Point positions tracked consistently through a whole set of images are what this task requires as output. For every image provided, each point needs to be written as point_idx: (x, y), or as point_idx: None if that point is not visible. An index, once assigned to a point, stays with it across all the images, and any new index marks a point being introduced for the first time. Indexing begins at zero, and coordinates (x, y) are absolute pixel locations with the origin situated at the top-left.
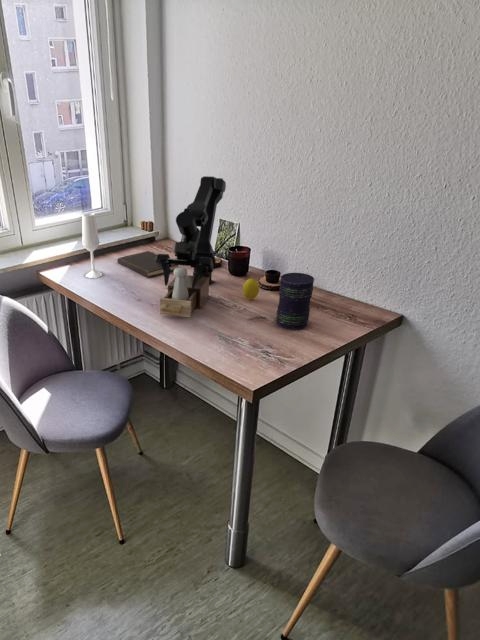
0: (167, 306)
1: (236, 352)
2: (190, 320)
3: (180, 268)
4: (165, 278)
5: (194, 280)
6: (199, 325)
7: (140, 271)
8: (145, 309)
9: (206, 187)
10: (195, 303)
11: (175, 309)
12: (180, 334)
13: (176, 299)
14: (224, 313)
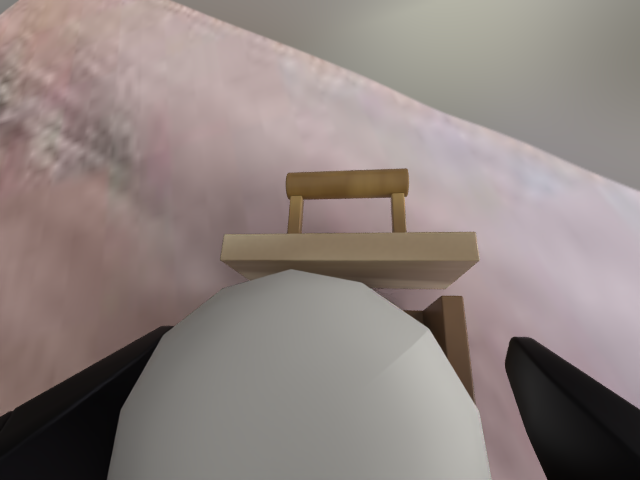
0: (392, 228)
1: (79, 80)
2: None
3: (268, 477)
4: (591, 391)
5: (96, 376)
6: (211, 228)
7: None
8: (588, 354)
9: None
10: None
11: (317, 172)
12: (278, 128)
13: (337, 259)
14: None
